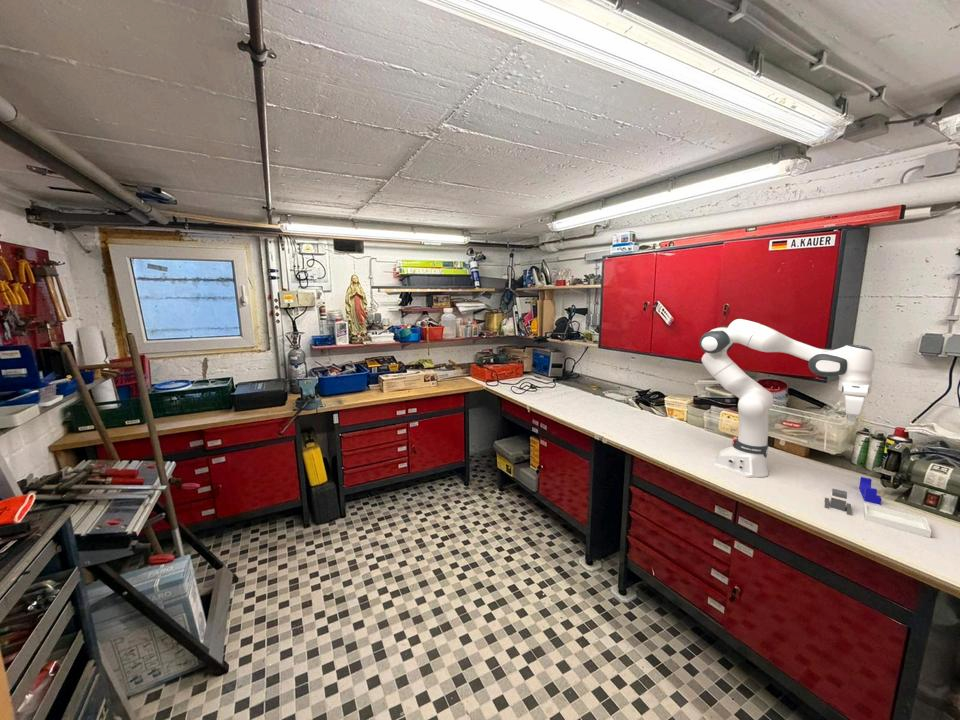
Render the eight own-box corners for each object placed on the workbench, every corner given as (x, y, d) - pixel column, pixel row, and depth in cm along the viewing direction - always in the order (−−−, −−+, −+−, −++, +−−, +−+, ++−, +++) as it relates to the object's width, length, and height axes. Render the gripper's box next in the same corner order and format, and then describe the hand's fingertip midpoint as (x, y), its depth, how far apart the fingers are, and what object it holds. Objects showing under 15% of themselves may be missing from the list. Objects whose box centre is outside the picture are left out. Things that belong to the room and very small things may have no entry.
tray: (864, 520, 135) (865, 513, 134) (863, 508, 142) (863, 502, 141) (930, 537, 124) (931, 531, 124) (924, 524, 131) (926, 518, 131)
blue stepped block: (880, 505, 144) (882, 491, 143) (864, 501, 147) (866, 488, 146) (873, 492, 153) (876, 479, 152) (858, 489, 156) (860, 476, 155)
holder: (824, 509, 142) (824, 505, 142) (824, 500, 148) (825, 497, 148) (851, 516, 137) (851, 512, 137) (850, 507, 143) (850, 504, 143)
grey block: (829, 508, 143) (832, 492, 141) (829, 504, 146) (832, 488, 145) (845, 512, 140) (847, 496, 139) (844, 508, 143) (847, 491, 142)
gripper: (842, 381, 149) (838, 413, 151) (843, 390, 135) (839, 426, 137) (864, 383, 145) (859, 416, 147) (868, 393, 130) (863, 430, 132)
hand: (850, 421), depth 142 cm, fingers open, 8 cm apart
